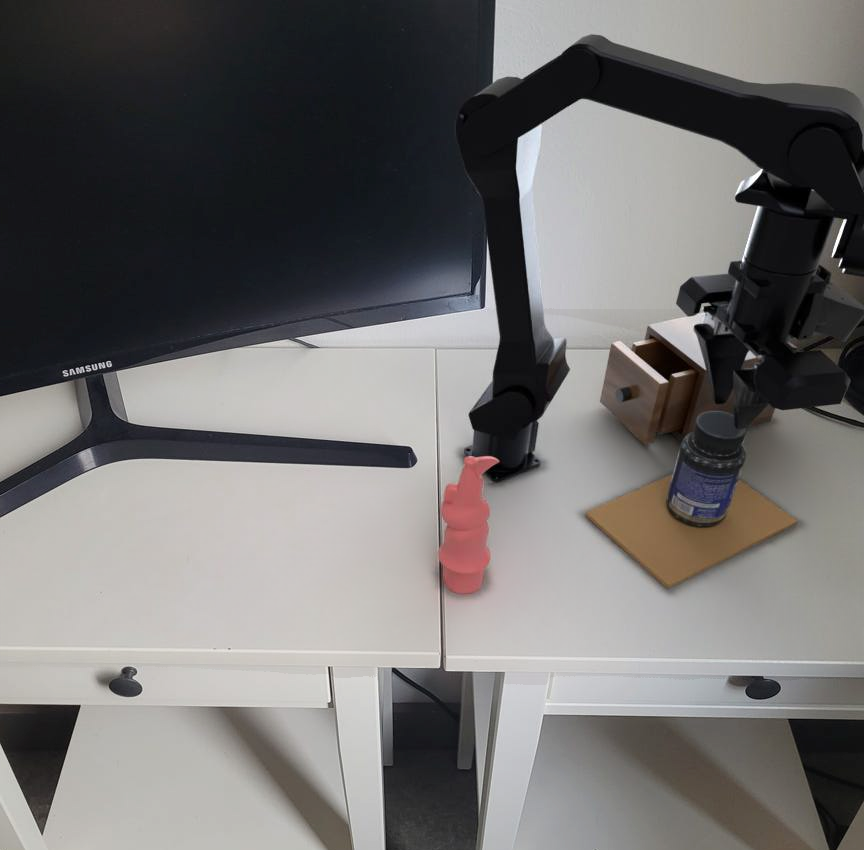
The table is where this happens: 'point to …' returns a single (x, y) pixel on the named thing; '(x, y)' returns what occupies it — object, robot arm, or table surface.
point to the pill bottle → (707, 470)
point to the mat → (685, 530)
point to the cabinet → (698, 368)
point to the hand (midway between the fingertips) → (730, 415)
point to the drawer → (648, 388)
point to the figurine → (466, 528)
